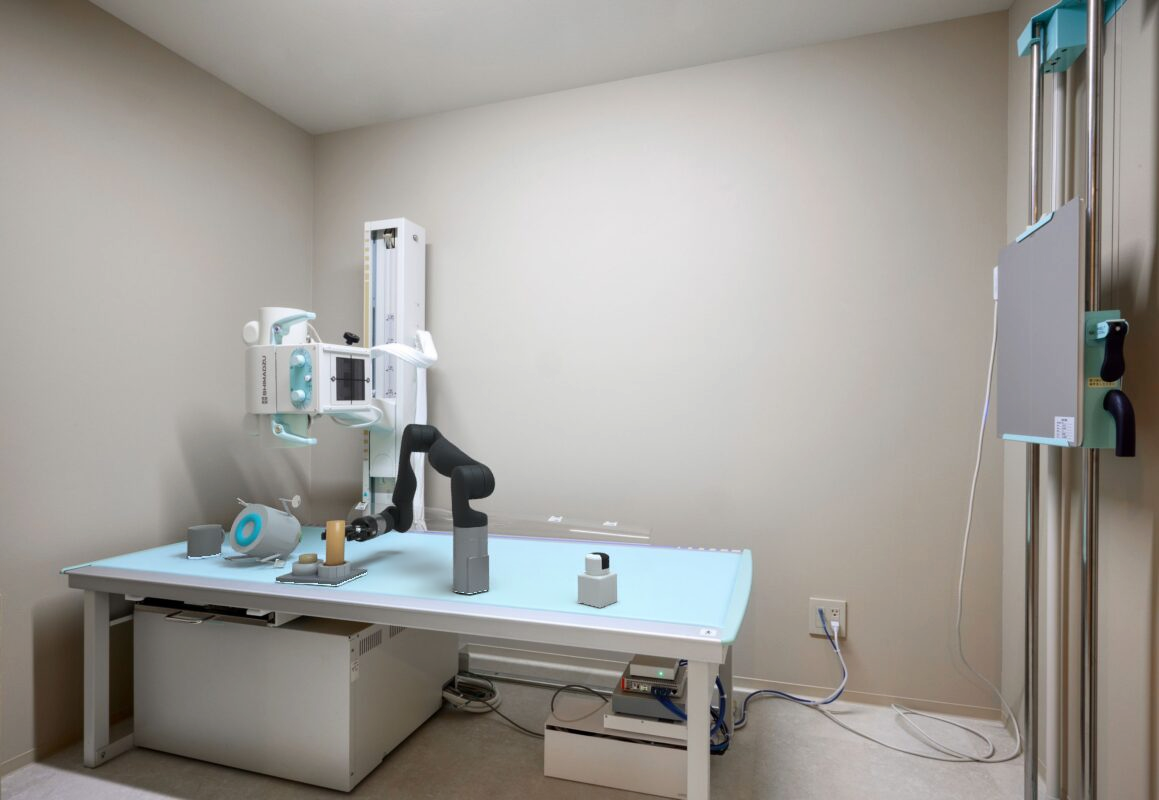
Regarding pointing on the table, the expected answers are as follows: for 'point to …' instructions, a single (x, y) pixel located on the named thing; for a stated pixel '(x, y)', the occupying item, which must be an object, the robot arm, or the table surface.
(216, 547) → the coffee mug
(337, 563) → the cylinder
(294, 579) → the housing
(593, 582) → the medicine bottle
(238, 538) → the satellite
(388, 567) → the table surface
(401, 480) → the robot arm
